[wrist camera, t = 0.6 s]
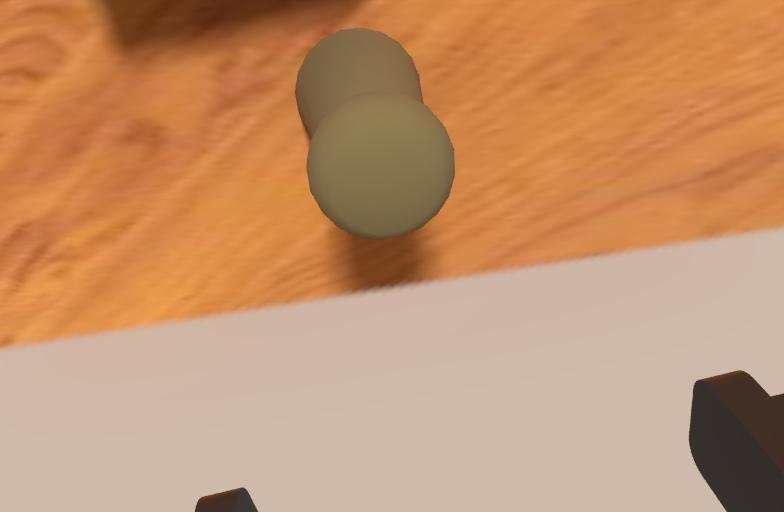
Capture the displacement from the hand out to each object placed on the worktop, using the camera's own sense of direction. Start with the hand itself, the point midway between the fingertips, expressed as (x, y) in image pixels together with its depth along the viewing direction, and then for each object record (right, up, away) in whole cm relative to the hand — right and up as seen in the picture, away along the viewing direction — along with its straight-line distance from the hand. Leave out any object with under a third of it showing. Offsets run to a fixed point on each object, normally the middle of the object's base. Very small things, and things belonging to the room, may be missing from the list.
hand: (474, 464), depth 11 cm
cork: (-3, +12, +19) cm, 22 cm away
